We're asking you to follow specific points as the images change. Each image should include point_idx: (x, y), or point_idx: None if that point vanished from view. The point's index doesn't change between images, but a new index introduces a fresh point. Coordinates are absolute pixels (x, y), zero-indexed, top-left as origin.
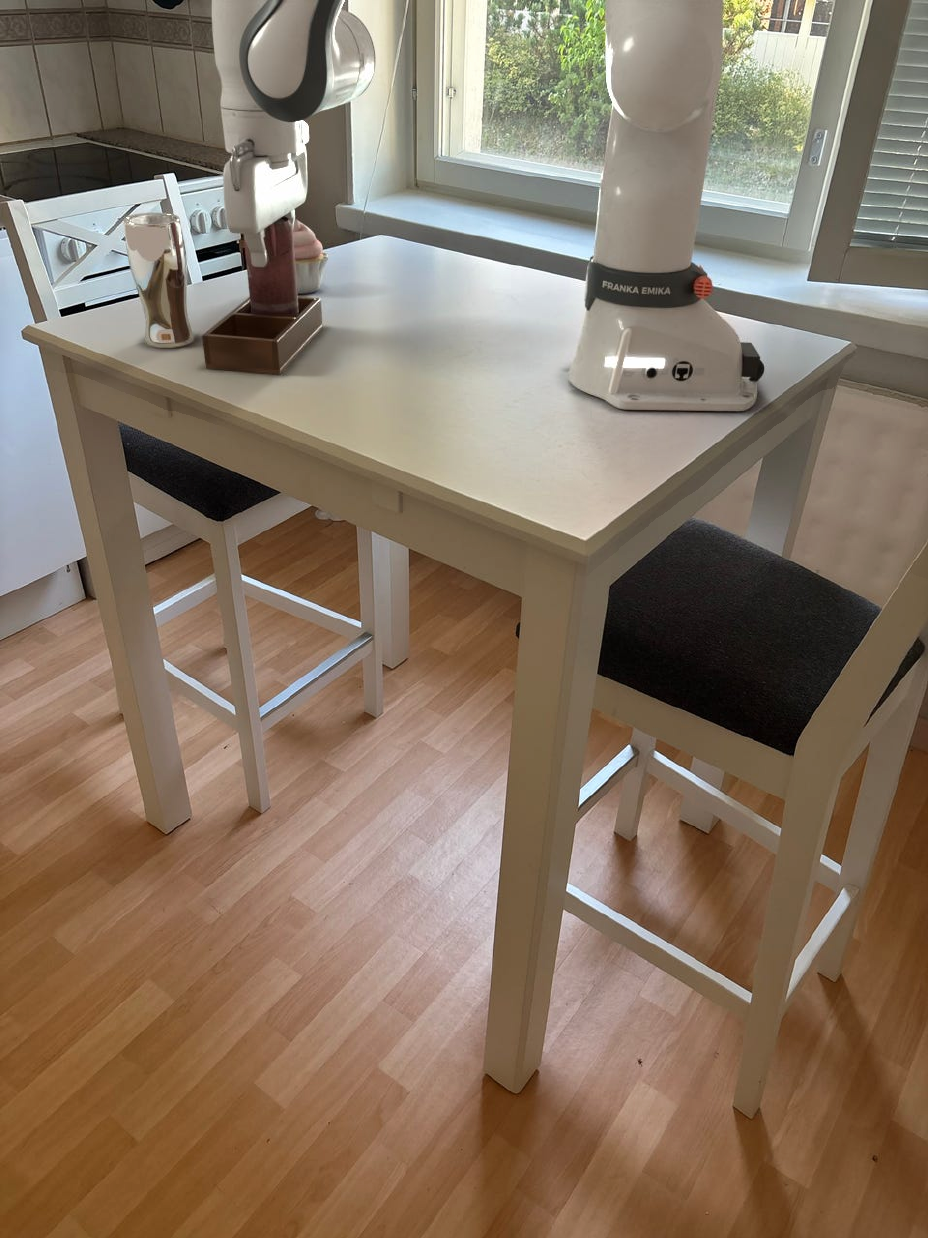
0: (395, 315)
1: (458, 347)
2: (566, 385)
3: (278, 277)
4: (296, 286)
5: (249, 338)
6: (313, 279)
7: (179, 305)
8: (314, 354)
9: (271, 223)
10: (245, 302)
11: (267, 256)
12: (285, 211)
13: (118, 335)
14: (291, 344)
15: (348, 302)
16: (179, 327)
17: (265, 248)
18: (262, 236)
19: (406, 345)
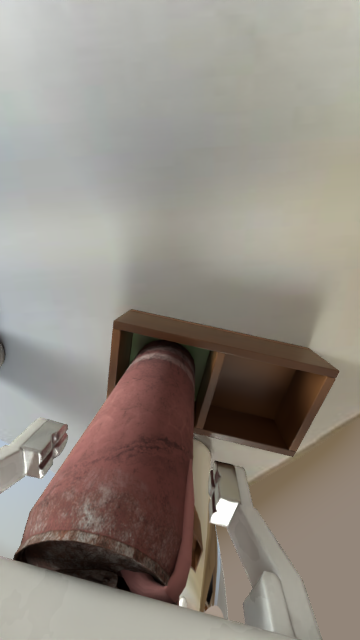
0: (52, 201)
1: (205, 53)
2: None
3: (189, 413)
4: (152, 369)
5: (317, 406)
6: None
7: (200, 490)
8: (233, 312)
9: (253, 633)
10: None
11: (230, 482)
12: (43, 601)
13: None
14: (267, 345)
15: (14, 281)
16: (203, 464)
17: (247, 514)
18: (287, 585)
19: (195, 171)
